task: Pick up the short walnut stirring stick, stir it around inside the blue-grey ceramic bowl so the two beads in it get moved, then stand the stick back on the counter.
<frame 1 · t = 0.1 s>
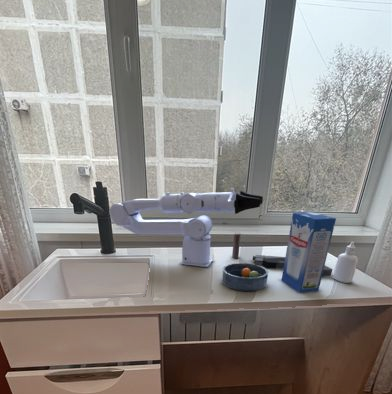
hand: (261, 201, 87), 22 cm above the worktop, tool horizontal, fingers open, 7 cm apart
bead a: (246, 272, 88), point 2 cm above the worktop, touching bowl
bowl: (243, 283, 86), on the worktop
bead b: (254, 275, 86), point 2 cm above the worktop, tilted 20°, touching bowl
pistol: (289, 269, 99), on the worktop
milk carton: (299, 285, 86), on the worktop
eye dropper bottle: (341, 280, 90), on the worktop
stirring stick: (235, 257, 109), on the worktop
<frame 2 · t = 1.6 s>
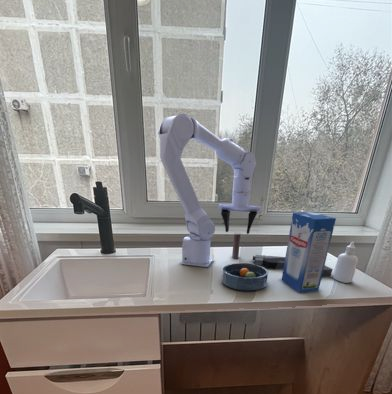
hand: (237, 232, 104), 9 cm above the worktop, tool pointing down, fingers open, 7 cm apart
bead a: (244, 272, 88), point 2 cm above the worktop, tilted 21°, touching bowl
bead b: (250, 276, 85), point 2 cm above the worktop, tilted 74°, touching bowl
everything else where it was.
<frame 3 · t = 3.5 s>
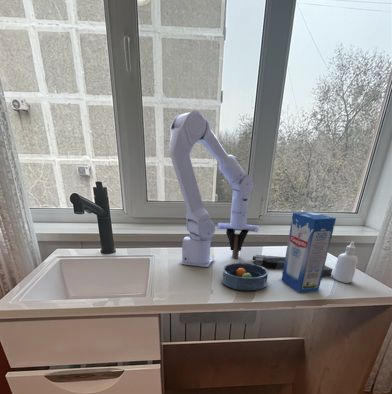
hand: (235, 250, 107), 3 cm above the worktop, tool pointing down, fingers closed on stirring stick, 2 cm apart
bead a: (240, 272, 88), point 2 cm above the worktop, tilted 62°, touching bowl
bead b: (246, 277, 84), point 2 cm above the worktop, tilted 131°, touching bowl
stirring stick: (235, 257, 109), on the worktop, touching gripper
everything else where it was.
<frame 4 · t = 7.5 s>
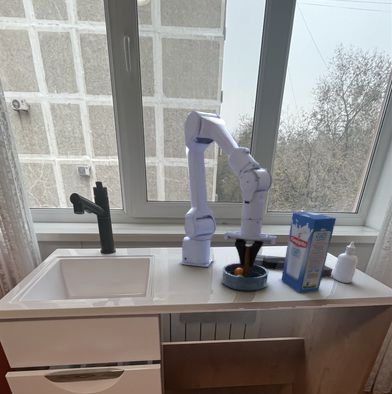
hand: (246, 265, 85), 5 cm above the worktop, tool pointing down, fingers closed on stirring stick, 2 cm apart
bead a: (239, 272, 88), point 2 cm above the worktop, tilted 83°, touching bowl, stirring stick
bead b: (239, 280, 82), point 2 cm above the worktop, tilted 104°, touching bowl
stirring stick: (246, 275, 87), point 2 cm above the worktop, touching bead a, gripper
everything else where it was.
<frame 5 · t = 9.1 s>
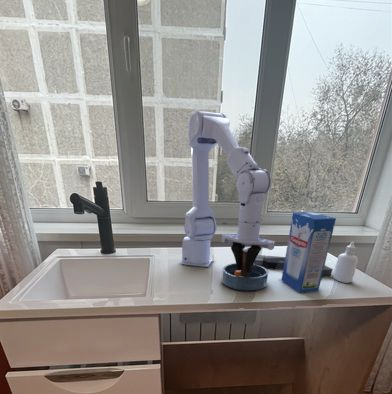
hand: (244, 270, 82), 5 cm above the worktop, tool pointing down, fingers closed on stirring stick, 2 cm apart
bead a: (238, 275, 86), point 2 cm above the worktop, tilted 34°, touching bowl
bead b: (241, 280, 82), point 2 cm above the worktop, tilted 104°, touching bowl, stirring stick
stirring stick: (244, 277, 84), point 2 cm above the worktop, tilted 11°, touching bead b, gripper
everything else where it was.
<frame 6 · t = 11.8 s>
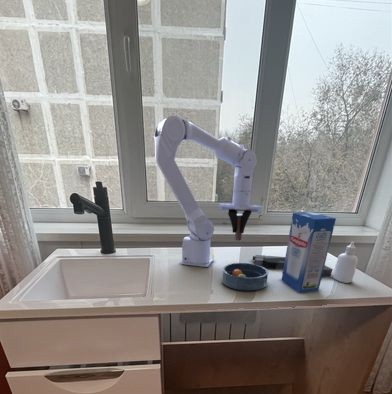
hand: (238, 232, 102), 10 cm above the worktop, tool pointing down, fingers closed on stirring stick, 2 cm apart
bead a: (237, 274, 87), point 2 cm above the worktop, tilted 59°, touching bowl
bead b: (241, 279, 83), point 2 cm above the worktop, tilted 121°, touching bowl
stirring stick: (238, 239, 104), point 7 cm above the worktop, tilted 11°, touching gripper
everything else where it was.
when the fingers open (3 cm above the worktop, at t = 13.9 s): stirring stick stays where it is, on the worktop.
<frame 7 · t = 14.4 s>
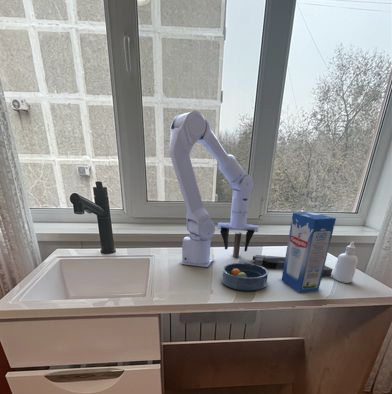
hand: (235, 249, 107), 3 cm above the worktop, tool pointing down, fingers open, 7 cm apart
bead a: (235, 273, 87), point 2 cm above the worktop, tilted 86°, touching bowl
bead b: (241, 277, 84), point 2 cm above the worktop, tilted 134°, touching bowl
stirring stick: (235, 256, 110), on the worktop
everything else where it was.
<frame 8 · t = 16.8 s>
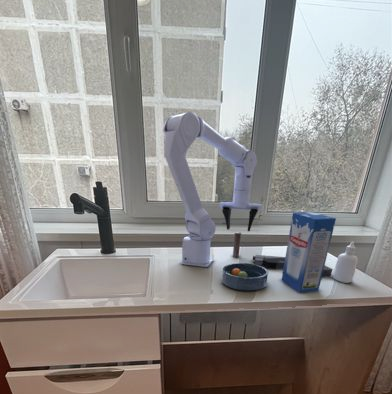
hand: (238, 229, 106), 10 cm above the worktop, tool pointing down, fingers open, 7 cm apart
bead b: (242, 276, 85), point 2 cm above the worktop, tilted 123°, touching bowl
everything else where it was.
at the end: bead a moved 3.2 cm from its start; bead a inside the target area in the bowl (3.6 cm from its centre), point 2.1 cm above the bowl's base; stirring stick inside the target area (1.5 cm from its centre), on the worktop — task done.
